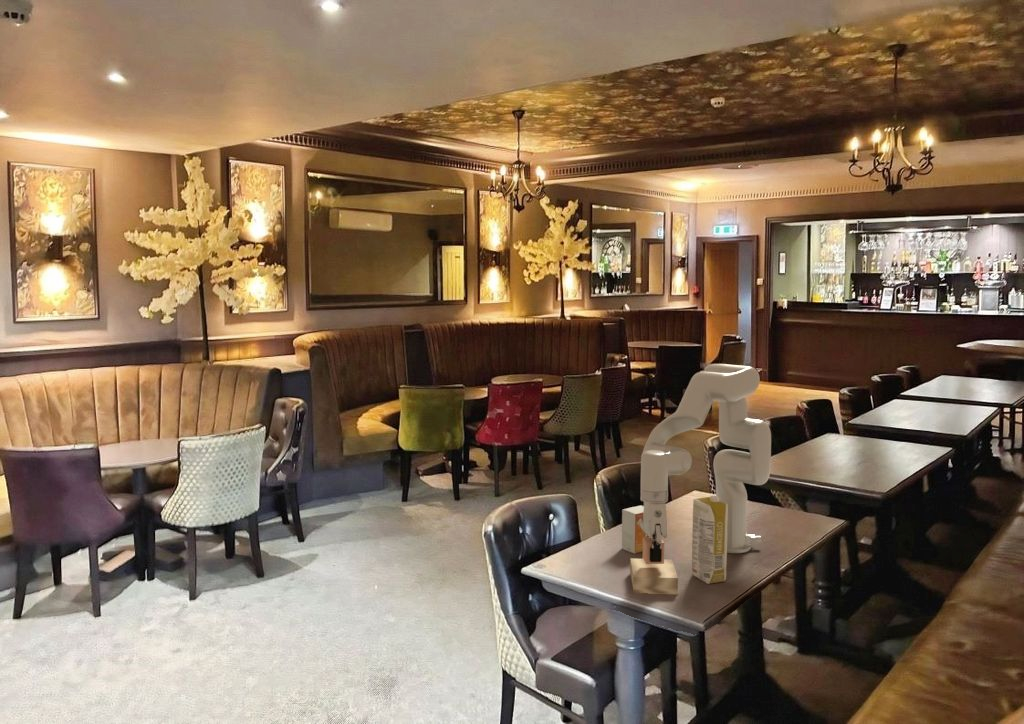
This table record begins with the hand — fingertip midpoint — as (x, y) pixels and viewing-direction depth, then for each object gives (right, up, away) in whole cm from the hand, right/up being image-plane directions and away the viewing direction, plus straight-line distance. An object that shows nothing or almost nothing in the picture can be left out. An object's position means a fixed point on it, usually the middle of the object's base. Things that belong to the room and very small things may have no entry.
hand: (653, 557), depth 214 cm
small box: (0, -5, +29) cm, 29 cm away
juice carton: (+17, -7, +4) cm, 19 cm away
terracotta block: (0, -1, 0) cm, 1 cm away
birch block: (0, -8, +1) cm, 8 cm away
